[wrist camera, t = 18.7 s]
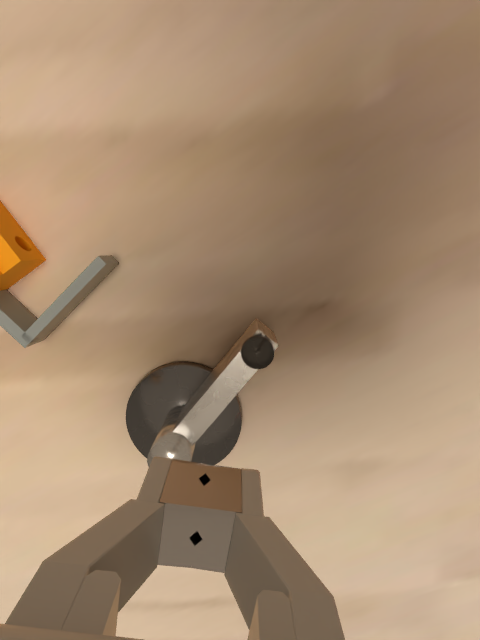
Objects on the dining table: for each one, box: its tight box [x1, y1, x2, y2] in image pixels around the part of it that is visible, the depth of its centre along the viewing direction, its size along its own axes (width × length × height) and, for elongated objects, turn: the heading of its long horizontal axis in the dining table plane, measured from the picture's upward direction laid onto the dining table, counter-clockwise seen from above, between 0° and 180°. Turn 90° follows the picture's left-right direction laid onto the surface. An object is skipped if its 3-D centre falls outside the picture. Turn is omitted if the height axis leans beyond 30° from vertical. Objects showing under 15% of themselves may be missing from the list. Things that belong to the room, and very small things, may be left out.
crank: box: [147, 318, 279, 467], centre depth 25 cm, size 12×3×5 cm, turn 141°
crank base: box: [126, 362, 241, 465], centre depth 29 cm, size 10×10×1 cm
